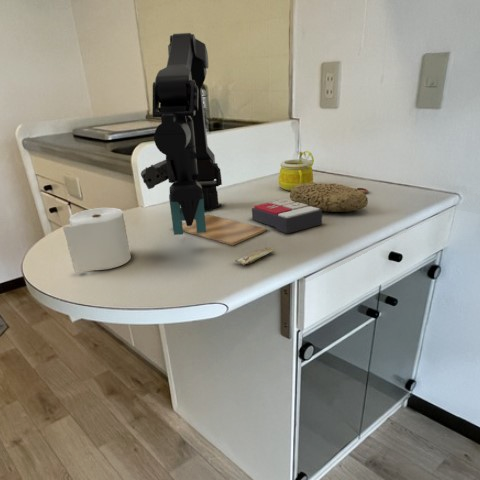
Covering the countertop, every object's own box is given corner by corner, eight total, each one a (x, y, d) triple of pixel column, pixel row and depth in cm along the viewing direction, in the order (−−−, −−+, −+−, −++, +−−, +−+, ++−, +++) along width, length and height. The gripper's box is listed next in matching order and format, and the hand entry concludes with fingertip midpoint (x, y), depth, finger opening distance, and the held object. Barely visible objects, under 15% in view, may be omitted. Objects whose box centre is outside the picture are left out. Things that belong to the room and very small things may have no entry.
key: (349, 206, 121) (375, 193, 131) (350, 202, 121) (376, 190, 130) (331, 201, 125) (358, 189, 134) (332, 198, 124) (359, 186, 133)
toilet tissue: (135, 250, 99) (127, 206, 94) (124, 272, 89) (115, 224, 84) (88, 252, 99) (78, 208, 94) (72, 274, 89) (59, 226, 84)
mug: (275, 185, 144) (275, 146, 138) (308, 183, 145) (309, 144, 139) (283, 195, 133) (283, 153, 127) (318, 192, 134) (320, 151, 128)
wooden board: (174, 228, 111) (174, 226, 110) (208, 216, 118) (208, 214, 118) (232, 245, 99) (232, 243, 99) (266, 230, 106) (266, 228, 106)
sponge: (285, 212, 122) (340, 212, 107) (285, 183, 120) (341, 178, 105) (319, 211, 130) (374, 211, 114) (319, 183, 128) (376, 179, 112)
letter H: (173, 230, 97) (169, 194, 93) (205, 227, 98) (202, 191, 93) (173, 235, 94) (169, 197, 90) (206, 232, 95) (203, 195, 91)
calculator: (284, 197, 118) (322, 206, 106) (285, 213, 120) (322, 224, 108) (250, 205, 113) (286, 215, 101) (251, 221, 115) (287, 233, 103)
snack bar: (264, 247, 95) (274, 245, 93) (266, 254, 95) (276, 252, 93) (233, 260, 89) (243, 259, 87) (235, 267, 90) (245, 266, 87)
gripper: (142, 142, 94) (152, 213, 102) (136, 158, 78) (150, 241, 86) (193, 138, 95) (200, 209, 103) (199, 153, 79) (206, 236, 87)
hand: (189, 223), depth 95 cm, fingers closed on letter H, 3 cm apart
